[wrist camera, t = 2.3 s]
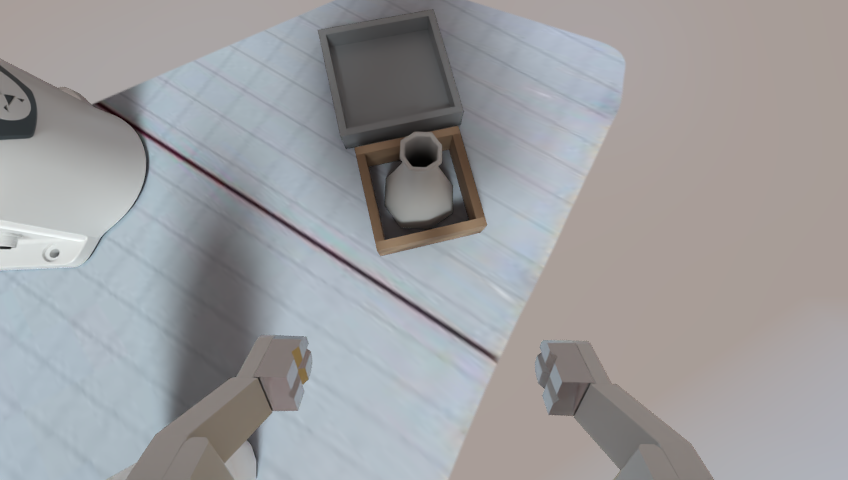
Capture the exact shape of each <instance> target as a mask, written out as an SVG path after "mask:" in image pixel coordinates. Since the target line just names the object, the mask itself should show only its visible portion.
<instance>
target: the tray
mask: <svg viewBox="0 0 848 480" xmlns="http://www.w3.org/2000/svg"><path fill="white" fill-rule="evenodd" d="M318 33H319V38H320V42H321V47H322V52H323V57H324V61H325V66H326V71H327V75H328V80H329V85H330V89H331V94H332V99H333V103H334V108H335V113H336V117H337V122H338V127H339V131H340V136H341V139H342V141H343V143H344V146H345V148H346V149H347V148H352V147H357V146H362V145H366V144H371V143H376V142H381V141H386V140H390V139H395V138H400V137H405V136H408V135H410V134H412V133H413V132H429V131H433V130H438V129H443V128H448V127H452V126H457V125H460V124H461V120H462V116H463V112H464V110H463V107H462V104H461V100H460V97H459V94H458V90H457V87H456V84H455V80H454V77H453V74H452V70H451V67H450V63H449V60H448V57H447V53H446V50H445V47H444V43H443V40H442V37H441V33H440V30H439V27H438V23H437V20H436V17H435V13H434V10H433V9H432V10H427V11H421V12H415V13H410V14H404V15H399V16H393V17H388V18H382V19H377V20H371V21H366V22H360V23H354V24H349V25H343V26H338V27H332V28H327V29H321V30H318Z"/></svg>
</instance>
